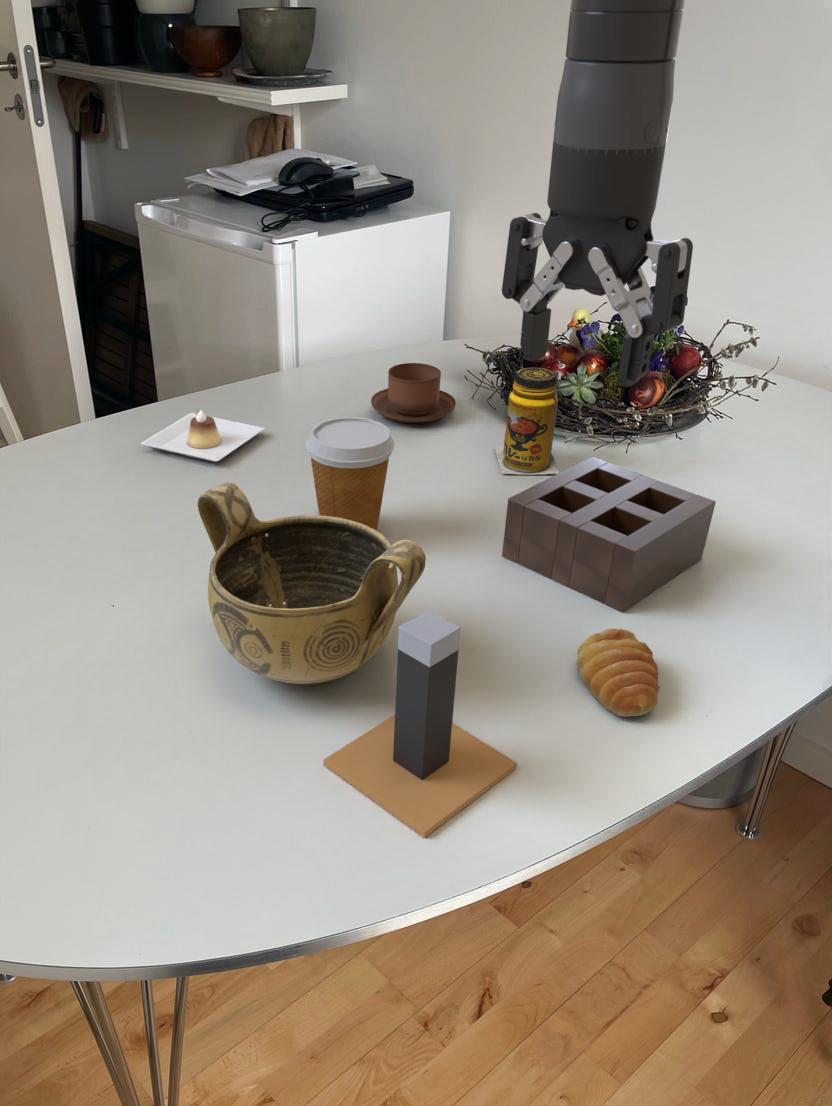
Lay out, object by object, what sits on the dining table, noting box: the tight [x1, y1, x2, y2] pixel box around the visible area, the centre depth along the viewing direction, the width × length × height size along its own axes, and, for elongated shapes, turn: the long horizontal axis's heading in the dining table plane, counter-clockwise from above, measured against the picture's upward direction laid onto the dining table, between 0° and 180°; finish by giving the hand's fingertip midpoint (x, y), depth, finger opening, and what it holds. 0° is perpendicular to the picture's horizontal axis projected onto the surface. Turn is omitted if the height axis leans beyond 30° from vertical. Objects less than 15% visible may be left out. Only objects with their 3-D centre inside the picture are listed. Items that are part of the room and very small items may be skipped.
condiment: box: [494, 366, 561, 476], centre depth 122 cm, size 7×8×12 cm
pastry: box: [576, 628, 660, 718], centre depth 85 cm, size 9×7×4 cm
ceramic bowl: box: [197, 481, 427, 685], centre depth 85 cm, size 22×17×15 cm
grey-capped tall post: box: [393, 610, 461, 780], centre depth 74 cm, size 3×3×13 cm
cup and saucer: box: [370, 362, 457, 424], centre depth 137 cm, size 12×12×6 cm
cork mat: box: [322, 714, 518, 838], centre depth 78 cm, size 11×11×1 cm
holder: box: [501, 456, 717, 613], centre depth 103 cm, size 15×15×7 cm
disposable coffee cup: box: [305, 416, 395, 531], centre depth 106 cm, size 10×10×12 cm
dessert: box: [140, 409, 266, 463], centre depth 128 cm, size 12×12×5 cm
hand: (579, 370), depth 75 cm, fingers open, 8 cm apart
